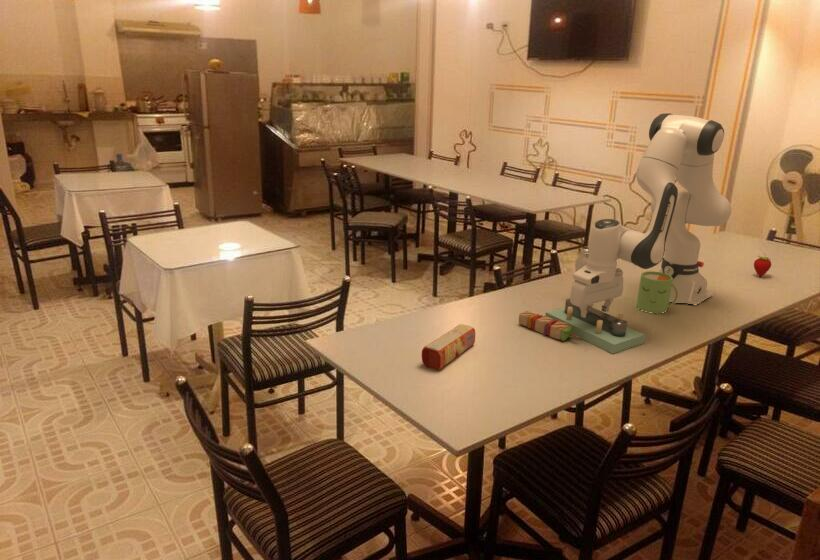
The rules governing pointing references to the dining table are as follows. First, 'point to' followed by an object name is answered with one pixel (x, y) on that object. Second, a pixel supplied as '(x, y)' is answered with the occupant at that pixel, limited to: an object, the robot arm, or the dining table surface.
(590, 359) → the dining table surface
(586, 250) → the plastic bottle
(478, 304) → the dining table surface
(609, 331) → the long charcoal rail
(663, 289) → the mug
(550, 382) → the dining table surface
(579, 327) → the peg rack
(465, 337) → the snack package
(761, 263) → the strawberry
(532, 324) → the skewer
